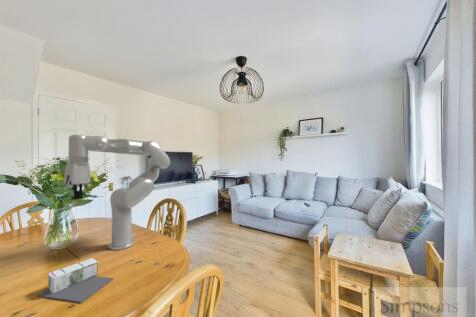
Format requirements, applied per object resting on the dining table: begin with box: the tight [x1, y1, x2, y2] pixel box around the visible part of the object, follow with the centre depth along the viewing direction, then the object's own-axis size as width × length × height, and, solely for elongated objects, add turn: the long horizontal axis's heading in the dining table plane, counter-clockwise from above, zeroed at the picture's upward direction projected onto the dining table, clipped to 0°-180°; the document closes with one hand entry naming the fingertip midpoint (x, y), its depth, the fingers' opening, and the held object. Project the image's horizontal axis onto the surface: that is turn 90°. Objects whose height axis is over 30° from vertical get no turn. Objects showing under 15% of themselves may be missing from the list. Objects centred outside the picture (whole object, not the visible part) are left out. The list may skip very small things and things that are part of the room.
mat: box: [37, 275, 114, 304], centre depth 78 cm, size 14×18×1 cm
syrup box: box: [47, 257, 99, 293], centre depth 81 cm, size 6×6×14 cm
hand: (78, 198), depth 101 cm, fingers closed
